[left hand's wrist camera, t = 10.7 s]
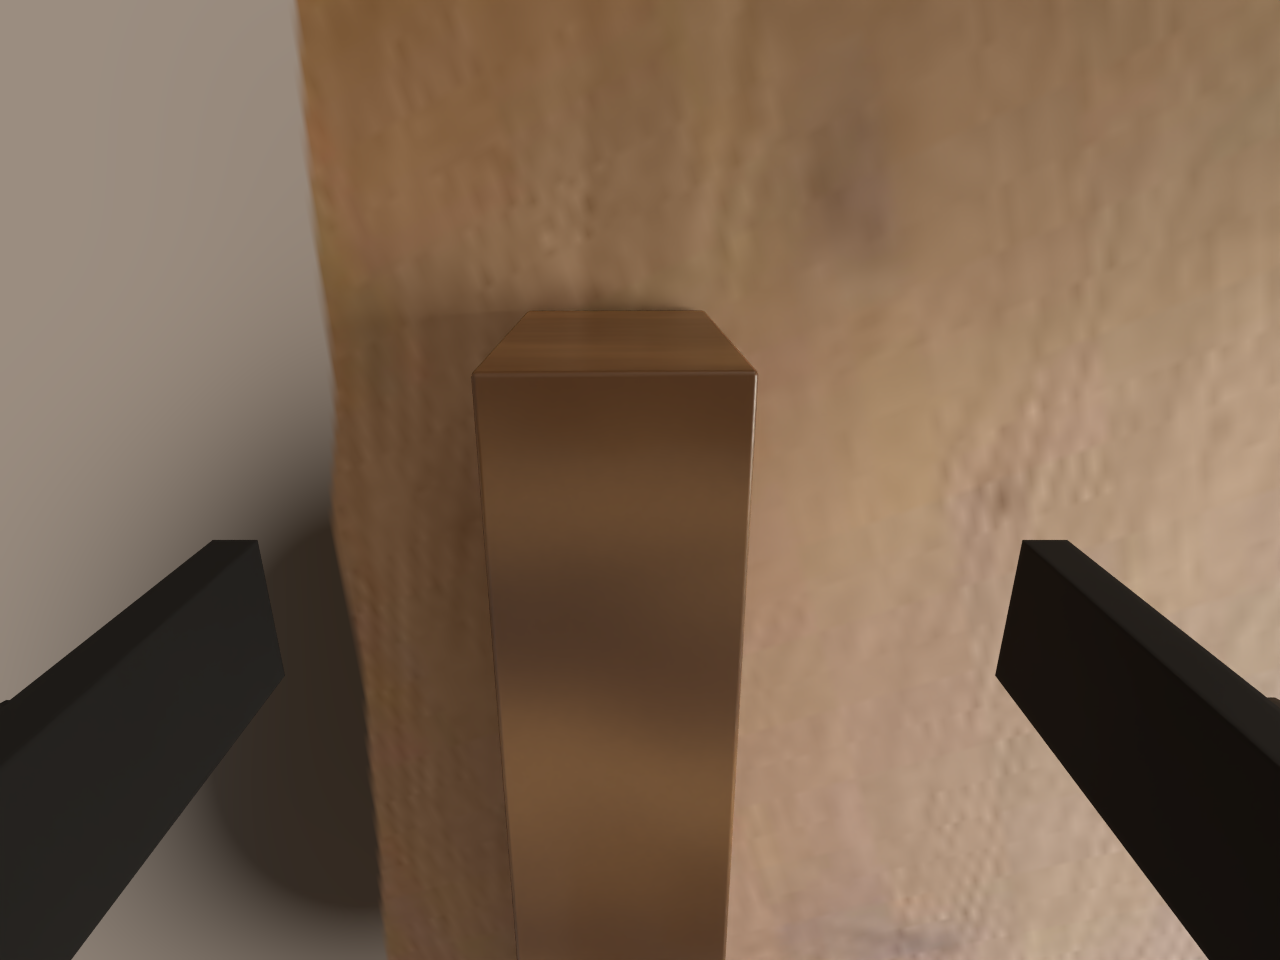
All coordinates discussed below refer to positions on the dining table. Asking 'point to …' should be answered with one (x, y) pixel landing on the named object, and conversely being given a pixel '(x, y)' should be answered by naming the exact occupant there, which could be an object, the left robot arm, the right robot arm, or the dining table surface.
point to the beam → (617, 623)
